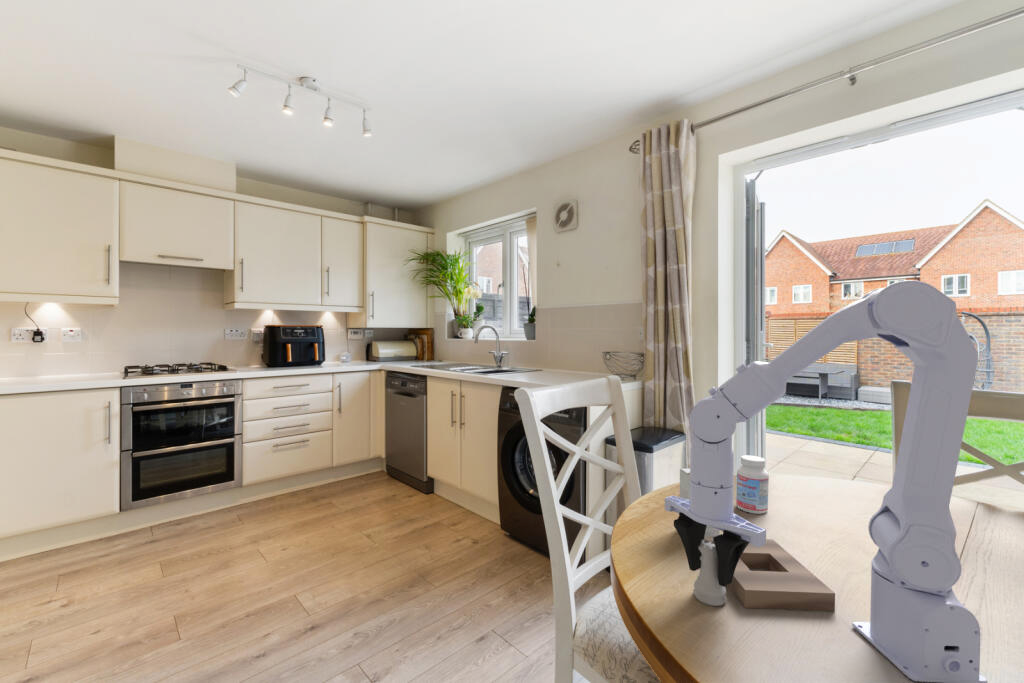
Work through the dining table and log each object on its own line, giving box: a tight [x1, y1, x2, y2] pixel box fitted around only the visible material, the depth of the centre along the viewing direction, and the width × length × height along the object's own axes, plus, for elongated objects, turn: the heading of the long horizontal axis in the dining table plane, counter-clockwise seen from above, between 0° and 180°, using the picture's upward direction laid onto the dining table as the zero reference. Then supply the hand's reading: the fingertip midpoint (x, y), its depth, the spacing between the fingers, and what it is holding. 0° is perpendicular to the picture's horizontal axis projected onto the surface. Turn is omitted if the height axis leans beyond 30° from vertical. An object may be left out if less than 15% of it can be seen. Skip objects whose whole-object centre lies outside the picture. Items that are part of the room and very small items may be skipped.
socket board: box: [704, 537, 836, 612], centre depth 69 cm, size 16×12×2 cm
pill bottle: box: [735, 454, 770, 515], centre depth 96 cm, size 6×6×11 cm
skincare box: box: [679, 468, 720, 537], centre depth 84 cm, size 6×4×12 cm
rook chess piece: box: [692, 539, 728, 607], centre depth 63 cm, size 4×4×8 cm
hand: (710, 575), depth 63 cm, fingers open, 4 cm apart
